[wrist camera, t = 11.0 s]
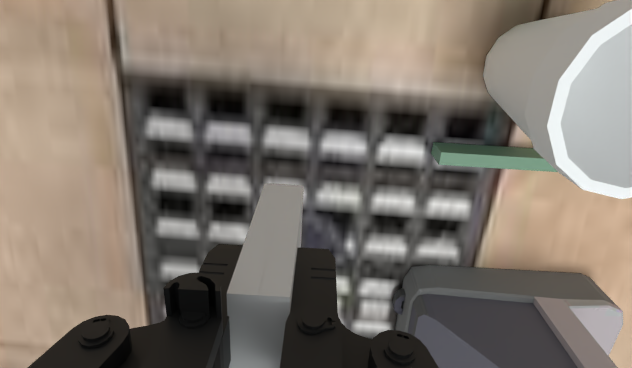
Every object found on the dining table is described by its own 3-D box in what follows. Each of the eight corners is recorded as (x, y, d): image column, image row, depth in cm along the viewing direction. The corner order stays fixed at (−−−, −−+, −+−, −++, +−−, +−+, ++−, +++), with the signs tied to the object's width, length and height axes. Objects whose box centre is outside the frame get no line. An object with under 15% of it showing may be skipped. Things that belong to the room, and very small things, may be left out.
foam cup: (475, -4, 28) (581, -11, 17) (607, -2, 28) (811, -8, 16) (454, 126, 32) (529, 197, 20) (570, 128, 32) (714, 201, 20)
